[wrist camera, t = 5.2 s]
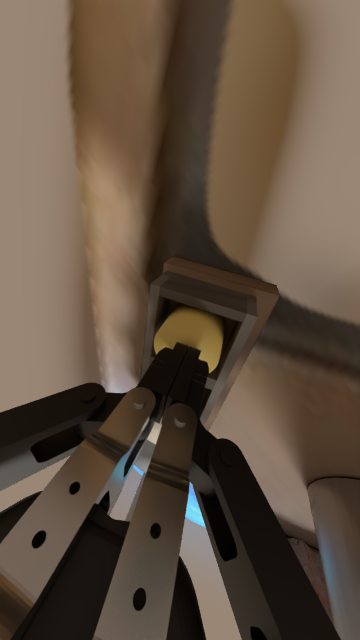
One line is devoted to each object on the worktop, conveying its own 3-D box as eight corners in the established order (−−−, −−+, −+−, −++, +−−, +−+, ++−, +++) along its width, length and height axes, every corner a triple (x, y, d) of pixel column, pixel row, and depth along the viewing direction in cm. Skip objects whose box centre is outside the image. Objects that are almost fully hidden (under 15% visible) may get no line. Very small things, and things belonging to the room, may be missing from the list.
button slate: (175, 419, 18) (162, 455, 16) (190, 446, 20) (181, 483, 17) (139, 418, 20) (123, 450, 18) (156, 442, 22) (143, 475, 19)
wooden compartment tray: (173, 256, 15) (146, 274, 11) (276, 285, 14) (286, 316, 10) (149, 402, 26) (131, 437, 22) (206, 426, 25) (197, 467, 21)
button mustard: (215, 292, 13) (206, 315, 10) (232, 343, 14) (228, 374, 12) (162, 306, 15) (143, 328, 12) (181, 350, 16) (168, 378, 14)
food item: (247, 531, 39) (246, 617, 31) (258, 519, 35) (260, 615, 27) (323, 564, 36) (344, 669, 28) (345, 555, 32) (378, 676, 24)
